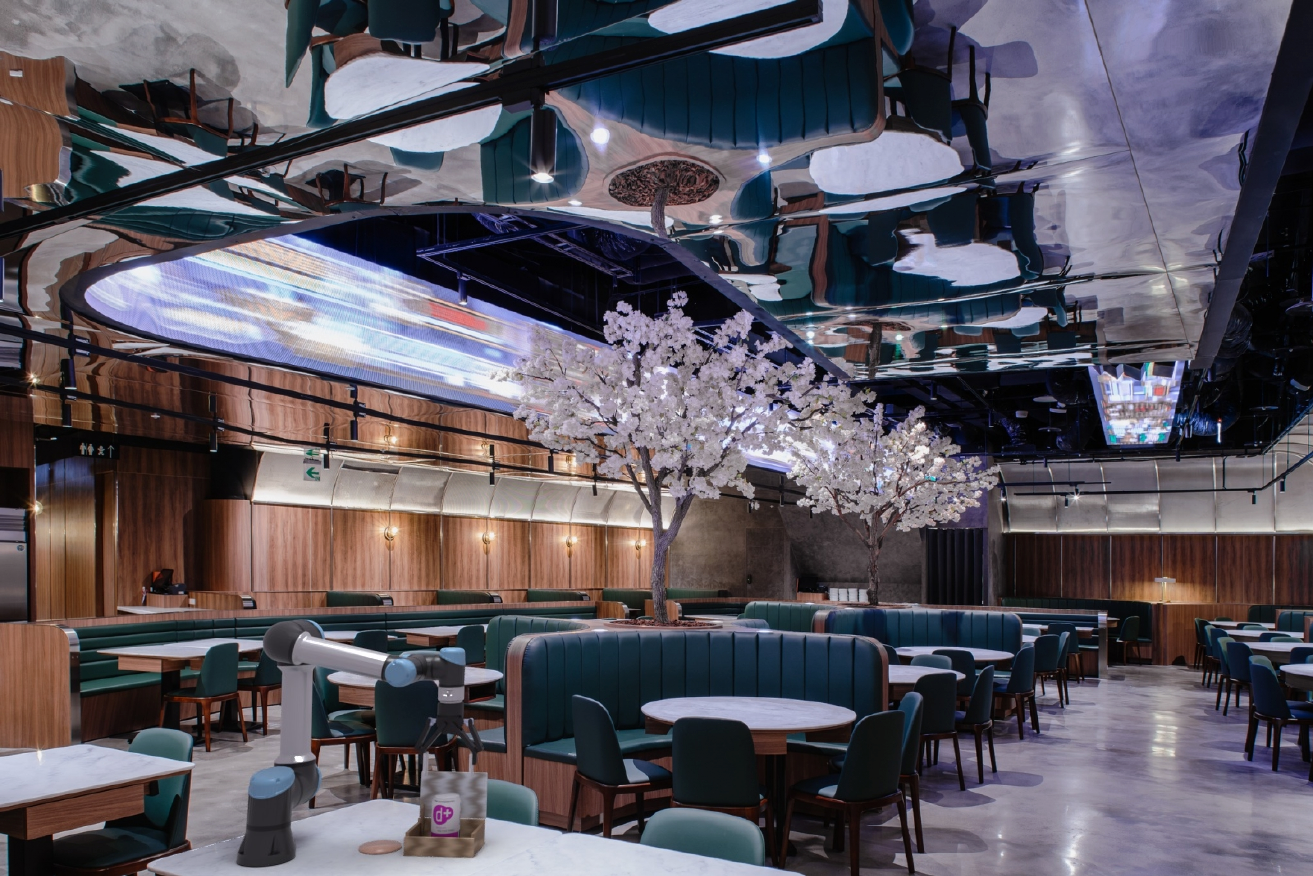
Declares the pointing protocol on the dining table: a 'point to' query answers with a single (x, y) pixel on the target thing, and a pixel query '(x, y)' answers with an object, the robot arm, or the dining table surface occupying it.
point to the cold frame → (471, 807)
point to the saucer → (380, 847)
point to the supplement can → (446, 815)
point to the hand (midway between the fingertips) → (448, 776)
